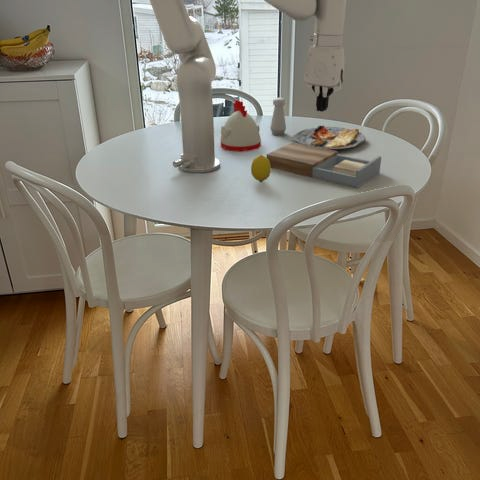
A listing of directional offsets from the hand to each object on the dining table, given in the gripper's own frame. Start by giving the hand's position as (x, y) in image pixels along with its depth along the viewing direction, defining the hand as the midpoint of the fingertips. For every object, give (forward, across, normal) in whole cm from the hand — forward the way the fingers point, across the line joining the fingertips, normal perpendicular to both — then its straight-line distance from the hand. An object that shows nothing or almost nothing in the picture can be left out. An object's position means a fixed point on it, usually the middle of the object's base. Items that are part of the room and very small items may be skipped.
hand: (321, 110), depth 141 cm
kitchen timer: (+18, -33, +6) cm, 39 cm away
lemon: (+18, -7, -19) cm, 27 cm away
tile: (+14, +11, 0) cm, 18 cm away
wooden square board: (+18, -5, 0) cm, 19 cm away
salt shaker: (+18, -30, +25) cm, 44 cm away
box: (+17, +10, 0) cm, 20 cm away
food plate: (+18, -10, +28) cm, 34 cm away
